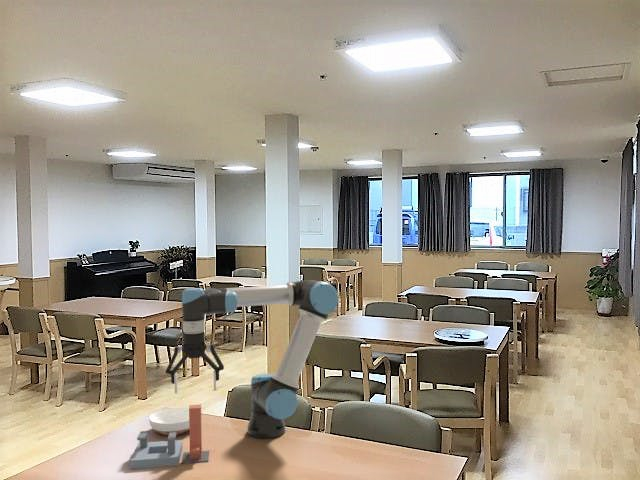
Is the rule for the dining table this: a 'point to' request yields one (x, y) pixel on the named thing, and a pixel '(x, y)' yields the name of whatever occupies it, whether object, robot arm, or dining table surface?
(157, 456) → the eye block
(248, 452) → the dining table surface
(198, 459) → the mat
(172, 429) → the bowl
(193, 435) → the orange tabbed bar
